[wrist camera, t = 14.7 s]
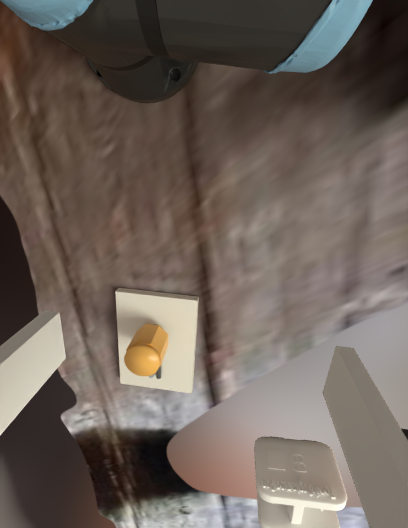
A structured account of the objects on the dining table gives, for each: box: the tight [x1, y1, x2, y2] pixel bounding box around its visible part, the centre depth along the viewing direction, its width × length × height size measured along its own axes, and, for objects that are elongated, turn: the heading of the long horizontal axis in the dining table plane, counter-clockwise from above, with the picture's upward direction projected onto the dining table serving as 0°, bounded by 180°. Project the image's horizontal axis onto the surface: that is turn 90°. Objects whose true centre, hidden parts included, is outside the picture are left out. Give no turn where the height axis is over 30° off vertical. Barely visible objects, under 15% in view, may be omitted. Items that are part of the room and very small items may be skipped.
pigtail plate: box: [115, 288, 199, 393], centre depth 49 cm, size 20×14×8 cm
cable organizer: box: [255, 437, 347, 528], centre depth 54 cm, size 15×11×12 cm
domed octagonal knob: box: [124, 324, 168, 376], centre depth 46 cm, size 5×5×6 cm
